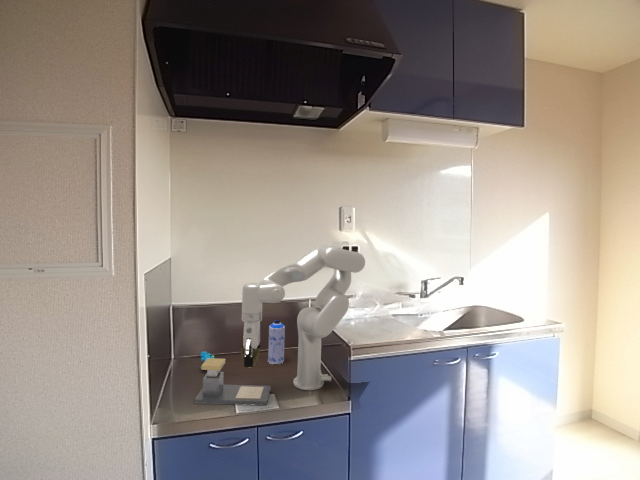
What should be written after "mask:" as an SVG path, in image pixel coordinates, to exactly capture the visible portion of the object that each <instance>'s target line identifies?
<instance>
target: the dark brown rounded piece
mask: <svg viewBox="0 0 640 480" xmlns="http://www.w3.org/2000/svg"><path fill="white" fill-rule="evenodd" d="M261 347H262V346H261V344H259V345H258V347H257V348H256V349H255V348H253V367H247V368H250V369H251V368H255V366H256V363H257V362H258V361H259V359H260V355H261V354H260V353H261ZM250 348H252V346H250ZM240 351H241V360H242V362H244V356H245V349H244V348H243V344H241V345H240ZM250 352H251V350H250Z"/></svg>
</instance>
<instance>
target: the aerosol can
mask: <svg viewBox="0 0 640 480" xmlns="http://www.w3.org/2000/svg"><path fill="white" fill-rule="evenodd" d="M280 320H281V319H278V318H277V319H274V322H272V323H271V324H270V325H269V326H268V354H267V355H268V357H267V363H268V362H269V363H268V364H270V365H273V364H278V365H281V363H282V364H284V363H285V339H286V338H285V337H286V335H285V333H286V331H285V329H286V328H285V327H286V326H285V325H284V324H283V323H282V322H280ZM283 362H284V363H283Z"/></svg>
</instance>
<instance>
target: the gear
mask: <svg viewBox="0 0 640 480" xmlns="http://www.w3.org/2000/svg"><path fill="white" fill-rule="evenodd" d="M200 357H201V358H200V359H201V361H202V362H205V360H206V359H207V358H215V355H214V354H211V353H210V352H207V351H201V352H200ZM199 369H201V366H200V367H199Z"/></svg>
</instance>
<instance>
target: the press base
mask: <svg viewBox="0 0 640 480" xmlns="http://www.w3.org/2000/svg"><path fill="white" fill-rule="evenodd" d="M270 393H271V385H253V384H250V385H249V384H224V371H220V375H219V377H218V378H208V377H207V372H206V373H205V375H204V376H203V378H202V388H201V389H200V391H199V392H198V394H197V395H196V396H195V398H194V400H193V401H194V404H200V405H204V404H205V405H232V404H260V405H259V406H267V405H268V404H267V403H268V401H267V400H269V397H270ZM261 404H262V405H261Z"/></svg>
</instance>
